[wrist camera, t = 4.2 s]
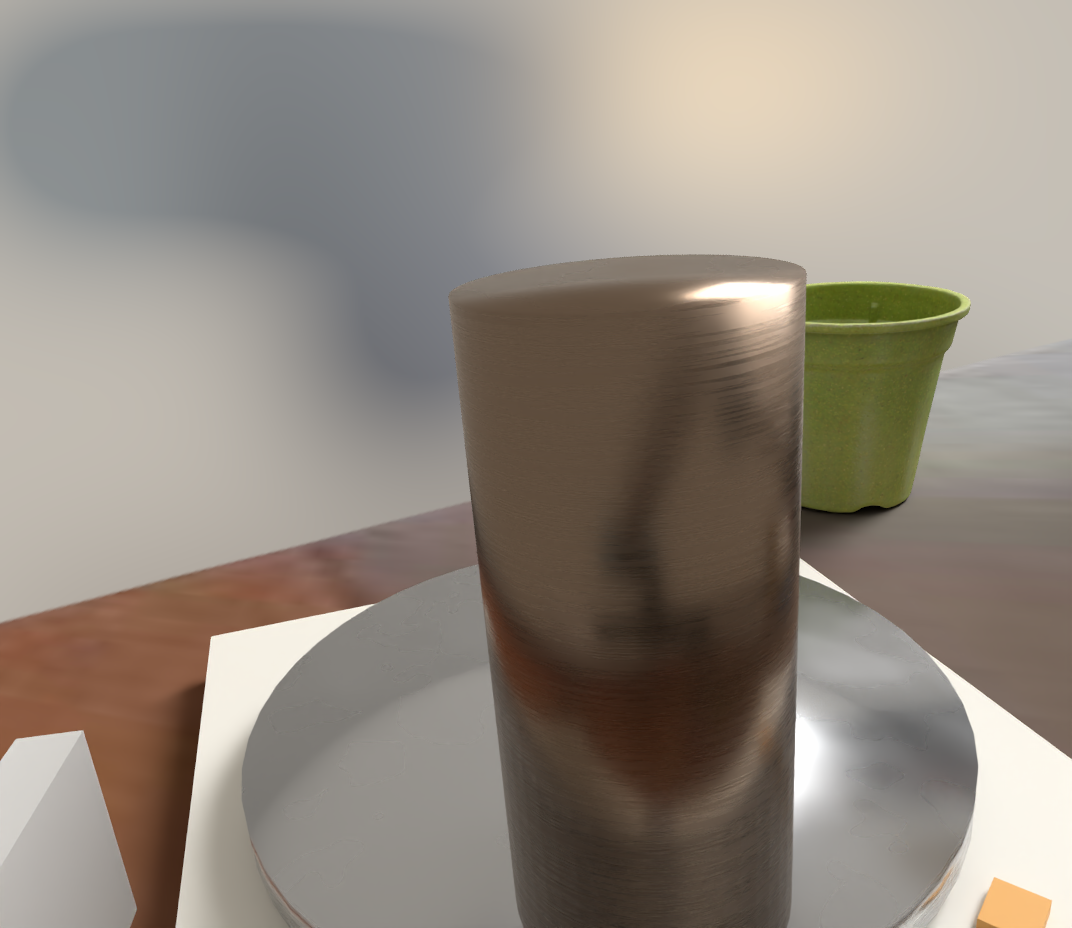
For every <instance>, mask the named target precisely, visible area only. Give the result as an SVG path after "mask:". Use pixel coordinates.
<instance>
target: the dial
mask: <svg viewBox="0 0 1072 928" xmlns="http://www.w3.org/2000/svg"><path fill="white" fill-rule="evenodd" d="M448 297H449V306H450V315H451V324H452V333H453V342H454V351H455V360H456V368H457V377H458V386H459V395H460V404H461V413H462V422H463V431H464V440H465V449H466V458H467V467H468V476H469V485H470V494H471V503H472V512H473V521H474V530H475V538H476V547H477V556H478V565H474V566H471V567H467V568H463V569H460V570H456V571H454V572H451V573H448V574H445V575H442V576H439V577H436V578H433V579H430V580H427V581H425V582H422V583H420V584H418V585H415V586H413V587H410V588H408V589H406V590H403V591H401V592H398V593H396V594H394V595H392V596H391V597H389V598H387V599H385V600H383V601H381V602H379V603H377V604H375V605H373V606H371V607H369V608H367V609H366V610H364V611H363V612H361V613H359V614H358V615H356V616H354V617H353V618H351V619H350V620H348V621H346V622H345V623H343V624H342V625H340V626H339V627H338V628H336V629H335V630H334V631H332V632H331V633H330V634H328V635H327V636H326V637H324V638H323V639H322V640H320V641H319V642H318V643H317V644H316V645H315V646H313V647H312V648H311V649H310V650H309V651H308V652H307V653H306V654H305V655H304V656H303V657H302V658H301V659H299V660H298V661H297V662H296V663H295V664H294V666H293V667H292V668H291V669H290V670H289V671H288V673H287V674H286V675H285V676H284V677H283V679H282V680H281V681H280V682H279V683H278V684H277V686H276V687H275V689H274V690H273V692H272V693H271V695H270V697H269V698H268V700H267V701H266V703H265V704H264V706H263V708H262V709H261V711H260V713H259V715H258V718H257V720H256V722H255V725H254V727H253V729H252V732H251V734H250V736H249V739H248V743H247V748H246V752H245V757H244V761H243V766H242V804H243V809H244V813H245V818H246V823H247V827H248V832H249V836H250V841H251V845H252V849H253V853H254V858H255V862H256V866H257V870H258V872H259V875H260V877H261V879H262V881H263V884H264V886H265V888H266V890H267V892H268V895H269V897H270V899H271V901H272V904H273V905H274V907H275V908H276V909H277V911H278V912H279V914H280V915H281V916H282V918H283V919H284V921H285V922H286V923H287V925H288V926H289V928H925V927H926V926H927V925H928V924H929V923H930V922H931V920H932V919H933V918H934V917H935V916H936V915H937V914H938V912H939V910H940V908H941V907H942V905H943V903H944V902H945V900H946V898H947V897H948V895H949V893H950V891H951V890H952V888H953V886H954V885H955V883H956V881H957V879H958V878H959V875H960V872H961V869H962V866H963V863H964V860H965V857H966V854H967V851H968V848H969V845H970V842H971V834H972V825H973V816H974V807H975V797H976V787H977V776H978V759H977V752H976V745H975V737H974V732H973V730H972V727H971V724H970V721H969V719H968V716H967V713H966V710H965V708H964V705H963V703H962V701H961V699H960V698H959V696H958V694H957V693H956V691H955V689H954V688H953V686H952V684H951V683H950V681H949V679H948V678H947V676H946V675H945V674H944V672H943V671H942V670H941V669H940V668H939V667H938V665H937V664H936V663H935V662H934V661H933V659H932V658H931V657H930V656H929V655H928V653H927V652H926V651H925V650H923V649H922V648H921V647H920V646H919V645H918V644H917V643H916V642H915V641H914V640H912V639H911V638H910V637H909V636H908V635H907V634H906V633H905V632H904V631H902V630H901V629H900V628H898V627H897V626H895V625H894V624H893V623H891V622H890V621H888V620H887V619H886V618H884V617H883V616H881V615H880V614H878V613H877V612H876V611H874V610H872V609H870V608H869V607H867V606H865V605H863V604H862V603H860V602H858V601H856V600H854V599H853V598H851V597H849V596H847V595H845V594H843V593H841V592H839V591H836V590H834V589H832V588H830V587H828V586H825V585H823V584H821V583H819V582H816V581H814V580H811V579H808V578H805V577H803V576H800V575H799V568H800V526H801V484H802V442H803V400H804V358H805V316H806V271H805V269H804V268H802V267H801V266H799V265H796V264H794V263H790V262H786V261H781V260H775V259H769V258H761V257H749V256H734V255H733V256H732V255H656V256H636V257H622V258H621V257H620V258H607V259H596V260H586V261H577V262H568V263H560V264H553V265H545V266H538V267H532V268H526V269H521V270H515V271H510V272H505V273H500V274H496V275H491V276H488V277H484V278H480V279H477V280H474V281H471V282H468V283H465V284H463V285H461V286H459V287H457V288H455V289H453V290H452V291H451V292H450V294H449V296H448Z"/></svg>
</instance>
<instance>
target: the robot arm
mask: <svg viewBox="0 0 1072 928" xmlns="http://www.w3.org/2000/svg"><path fill="white" fill-rule="evenodd" d="M136 911H137V907H136V904H135V900H134V897H133V894H132V890H131V887H130V884H129V881H128V877H127V874H126V871H125V867H124V864H123V861H122V857H121V854H120V851H119V848H118V844H117V841H116V838H115V834H114V831H113V828H112V824H111V821H110V818H109V814H108V811H107V808H106V805H105V801H104V798H103V795H102V791H101V788H100V785H99V781H98V778H97V775H96V771H95V768H94V765H93V762H92V758H91V755H90V752H89V748H88V745H87V742H86V738H85V735H84V732H83V730H81V731H74V732H66V733H58V734H51V735H43V736H35V737H28V738H20V739H16V740H15V741H14V743H13V744H12V746H11V747H10V748H9V750H8V751H7V753H6V754H5V755H4V757H3V758H2V760H1V761H0V928H130V926H131V923H132V921H133V918H134V916H135V913H136Z"/></svg>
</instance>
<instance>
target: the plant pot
mask: <svg viewBox="0 0 1072 928" xmlns="http://www.w3.org/2000/svg"><path fill="white" fill-rule="evenodd" d="M970 305H971V302H970V300H969V298H967V297H966V296H964V295H962V294H960V293H956V292H953V291H951V290H947V289H942V288H937V287H930V286H922V285H914V284H903V283H891V282H890V283H889V282H860V281H859V282H832V283H817V284H806V316H805V358H804V400H803V442H802V484H801V506H803V507H808V508H812V509H818V510H824V511H829V512H837V513H844V512H855V511H857V510H859V509H860V508H863V507H866V506H871V505H877V506H881V507H883V508H889V507H892V506H895V505H897V504H899V503H901V502H903V501H904V500H906V499H907V498H908V497H909V495H910V493H911V489H912V485H913V481H914V477H915V473H916V469H917V465H918V461H919V456H920V451H921V447H922V442H923V438H924V434H925V429H926V425H927V421H928V417H929V413H930V409H931V405H932V401H933V397H934V393H935V389H936V385H937V381H938V377H939V373H940V369H941V365H942V360H943V357H944V353H945V352H946V351H947V350H948V349H949V348H950V346H951V344H952V341H953V337H954V334H955V330H956V327H957V323H958V320H960V319H962V318H963V317H965V316H966V315H967V314H968V312H969V310H970Z"/></svg>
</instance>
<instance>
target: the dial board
mask: <svg viewBox="0 0 1072 928" xmlns="http://www.w3.org/2000/svg"><path fill="white" fill-rule="evenodd" d="M799 575H800V576H803V577H805V578H808V579H811V580H814V581H816V582H819V583H821V584H823V585H825V586H828V587H830V588H832V589H834V590H836V591H839V592H841V593H843V594H845V595H847V596H849V597H851V598H853V597H852V596H850V595H849V594H848V593H846V592H845V591H844V590H842V589H841V588H839V587H838V586H837V585H835V584H834V583H833V582H831V581H830V580H829V579H827V578H826V577H825V576H823V575H822V574H821V573H819V572H818V571H817V570H815V569H814V568H813V567H811V566H810V565H808V564H807V563H806V562H804V561H803V560H802V559H800V568H799ZM853 599H854V598H853ZM854 600H856V599H854ZM856 601H857V600H856ZM373 605H375V604H372V605H367V606H362V607H357V608H352V609H347V610H342V611H337V612H332V613H327V614H322V615H317V616H312V617H307V618H302V619H297V620H292V621H287V622H282V623H277V624H272V625H267V626H262V627H257V628H252V629H247V630H242V631H237V632H232V633H227V634H222V635H217V636H212V637H211V643H210V652H209V660H208V668H207V676H206V684H205V692H204V701H203V709H202V717H201V725H200V733H199V741H198V749H197V758H196V766H195V774H194V782H193V790H192V798H191V807H190V815H189V823H188V831H187V839H186V847H185V856H184V864H183V872H182V880H181V888H180V896H179V905H178V913H177V921H176V928H289V926H288V925H287V923H286V922H285V921H284V919H283V918H282V916H281V915H280V914H279V912H278V911H277V909H276V908H275V907H274V905H273V904H272V901H271V899H270V897H269V895H268V892H267V890H266V888H265V886H264V884H263V881H262V879H261V877H260V875H259V872H258V870H257V866H256V862H255V858H254V853H253V849H252V845H251V841H250V836H249V832H248V827H247V823H246V818H245V813H244V809H243V804H242V766H243V761H244V757H245V752H246V748H247V743H248V739H249V736H250V734H251V732H252V729H253V727H254V725H255V722H256V720H257V718H258V715H259V713H260V711H261V709H262V708H263V706H264V704H265V703H266V701H267V700H268V698H269V697H270V695H271V693H272V692H273V690H274V689H275V687H276V686H277V684H278V683H279V682H280V681H281V680H282V679H283V677H284V676H285V675H286V674H287V673H288V671H289V670H290V669H291V668H292V667H293V666H294V664H295V663H296V662H297V661H298V660H299V659H301V658H302V657H303V656H304V655H305V654H306V653H307V652H308V651H309V650H310V649H311V648H312V647H313V646H315V645H316V644H317V643H318V642H319V641H320V640H322V639H323V638H324V637H326V636H327V635H328V634H330V633H331V632H332V631H334V630H335V629H336V628H338V627H339V626H340V625H342V624H343V623H345V622H346V621H348V620H350V619H351V618H353V617H354V616H356V615H358V614H359V613H361V612H363V611H364V610H366V609H367V608H369V607H371V606H373ZM928 655H929V656H930V657H931V658H932V659H933V661H934V662H935V663H936V664H937V665H938V667H939V668H940V669H941V670H942V671H943V672H944V674H945V675H946V676H947V678H948V679H949V681H950V683H951V684H952V686H953V688H954V689H955V691H956V693H957V694H958V696H959V698H960V699H961V701H962V703H963V705H964V708H965V710H966V713H967V716H968V719H969V721H970V724H971V727H972V730H973V732H974V737H975V745H976V752H977V759H978V776H977V787H976V797H975V807H974V816H973V825H972V834H971V842H970V845H969V848H968V851H967V854H966V857H965V860H964V863H963V866H962V869H961V872H960V875H959V878H958V879H957V881H956V883H955V885H954V886H953V888H952V890H951V891H950V893H949V895H948V897H947V898H946V900H945V902H944V903H943V905H942V907H941V908H940V910H939V912H938V914H937V915H936V916H935V917H934V918H933V919H932V920H931V922H930V923H929V924H928V925H927V926H926V927H925V928H1072V759H1070V758H1069V757H1068V756H1066V755H1065V754H1064V753H1062V752H1061V751H1059V750H1058V749H1057V748H1055V747H1054V746H1053V745H1051V744H1050V743H1049V742H1047V741H1046V740H1045V739H1043V738H1042V737H1041V736H1039V735H1038V734H1037V733H1035V732H1034V731H1032V730H1031V729H1030V728H1028V727H1027V726H1026V725H1024V724H1023V723H1022V722H1020V721H1019V720H1018V719H1016V718H1015V717H1014V716H1012V715H1011V714H1010V713H1008V712H1007V711H1005V710H1004V709H1003V708H1001V707H1000V706H999V705H997V704H996V703H995V702H993V701H992V700H991V699H989V698H988V697H987V696H985V695H984V694H983V693H981V692H980V691H979V690H977V689H976V688H974V687H973V686H972V685H970V684H969V683H968V682H966V681H965V680H964V679H962V678H961V677H960V676H958V675H957V674H956V673H954V672H953V671H952V670H950V669H949V668H947V667H946V666H945V665H943V664H942V663H941V662H939V661H938V660H937V659H935V658H934V657H933V656H931V655H930V654H929V653H928Z"/></svg>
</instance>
